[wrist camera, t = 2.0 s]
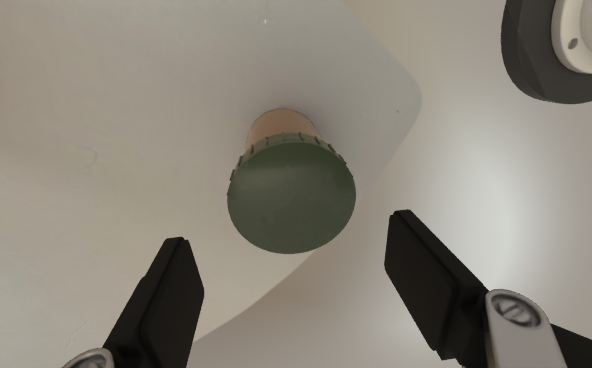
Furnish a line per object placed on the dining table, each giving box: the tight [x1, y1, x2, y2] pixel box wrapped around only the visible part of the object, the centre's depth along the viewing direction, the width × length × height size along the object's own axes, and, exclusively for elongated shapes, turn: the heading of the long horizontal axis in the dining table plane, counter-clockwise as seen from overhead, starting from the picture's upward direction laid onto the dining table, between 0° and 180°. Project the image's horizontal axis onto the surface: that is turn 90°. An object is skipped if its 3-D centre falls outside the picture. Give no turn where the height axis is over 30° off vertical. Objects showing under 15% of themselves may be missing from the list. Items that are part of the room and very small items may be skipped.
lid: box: [227, 132, 356, 254], centre depth 15 cm, size 7×7×2 cm
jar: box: [243, 109, 323, 155], centre depth 19 cm, size 6×6×11 cm
